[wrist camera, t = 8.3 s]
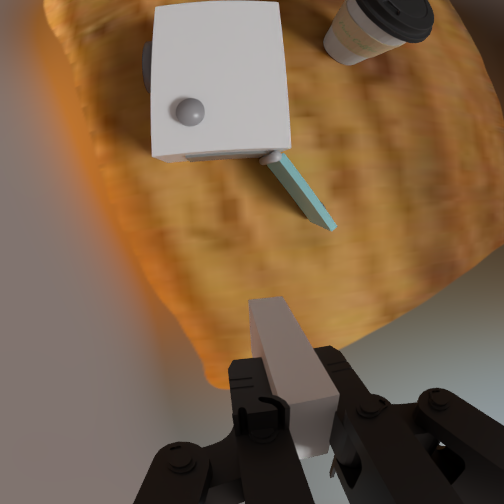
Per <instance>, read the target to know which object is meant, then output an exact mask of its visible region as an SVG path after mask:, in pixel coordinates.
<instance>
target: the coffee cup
mask: <svg viewBox="0 0 504 504" xmlns="http://www.w3.org/2000/svg"><path fill="white" fill-rule="evenodd" d="M433 23H434V14H433V10H432V8H431V6H430V4H429V2H428V0H345V1H344V3H343V4H342V6H341V8H340V9H339V11H338V13H337V14H336V16H335V18H334V20H333V22H332V25H331V27H330V28H329V30H328V32H327V34H326V35H325V37H324V41H323V43H324V47H325V50H326V51H327V53H328V54H329V55H330V56H331V57H332V58H333V59H335V60H336V61H338V62H340V63H342V64H345V65H353V64H356V63H358V62H361V61H363V60H365V59H367V58H371V57H375V56H377V55H379V54H382V53H384V52H386V51H389V50H391V49H394V48H396V47H399V46H401V45H403V44H404V43H405V42H408V43H419V42H422V41H424V40H425V39H426V38H427V37H428V36H429V35H430V33H431V30H432V25H433Z"/></svg>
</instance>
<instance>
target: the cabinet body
mask: <svg viewBox="0 0 504 504" xmlns="http://www.w3.org/2000/svg"><path fill="white" fill-rule="evenodd" d="M142 70H143V78H144V83H145V87H146V90H147V92H148V93H151V143H152V157H154V158H157V159H159V160H162V161H165V162H167V163H171V162H181V161H190V162H196V161H208V160H223V159H240V158H259V157H261V156H265V155H267V154H270V153H272V152H274V151H279V152H282V151H285V150H287V149H290V148H291V135H290V119H289V105H288V91H287V79H286V68H285V57H284V47H283V37H282V28H281V19H280V10H279V2H267V1H205V2H192V3H182V4H173V5H165V6H159V7H155V17H154V28H153V41H148V42H146V43H145V44H144V48H143V54H142Z"/></svg>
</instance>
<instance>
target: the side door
mask: <svg viewBox="0 0 504 504" xmlns="http://www.w3.org/2000/svg"><path fill="white" fill-rule="evenodd" d="M259 163H260V164H261V165H267V166H268V167H269V168H270V170H271V171H272V172H273V173H274V175H275V176H276V177H277V179H278V180H279V181H280V182H281V184H282V185H283V186H284V188H285V189H286V190H287V191H288V193H289V194H290V195H291V197H292V198H293V199H294V201H295V202H296V203H297V205H298V206H299V207H300V209H301V210H302V211H303V213H304V214H305V215H306V217H307V218H308V219H309V221H310V222H312V223H314V224H316V225H319V226H321V227H323V228H325V229H327V230H329V231H333V230H334V229H335V228H336V227H337V225H336V224H335V222H334V221H333V219H332V218H331V216H330V215H329V213H328V212H327V211H326V208H325V206H324V205H323V204H322V203H321V202H320V201H319V199H318V198H317V196H316V195H315V194H314V192H313V191H312V190H311V188H310V187H309V185H308V184H307V183H306V181H305V180H304V179H303V177H302V176H301V175H300V173H299V172H298V171H297V169H296V168H295V167H294V165H293V164H292V163H291V161H290V160H289V159H288V158H287V156H286V155H285V154H284V153H283V154H281V153H280V152H279V151H274V152H272V153H270V154H267V155H265V156H263V157H261V158H260V159H259Z"/></svg>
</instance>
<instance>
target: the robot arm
mask: <svg viewBox="0 0 504 504" xmlns="http://www.w3.org/2000/svg"><path fill="white" fill-rule="evenodd" d="M248 301H249V317H250V333H251V349H252V355H253V358H248V359H239V360H233V361H232V363H231V365H230V367H229V368H228V374H229V384H230V393H231V400H232V410H233V414H232V417H233V423H234V426H233V429H232V431H231V433H230V434H229V435H228V436H227V437H226V438H224V439H223V440H222V441H220V442H217V443H215V444H213V445H209V446H206V447H203V448H201V447H200V446H198V445H196V444H193V443H190V442H175V443H171V444H168V445H166V446H165V447H163V448H161V449H160V450H159V451H158V453H157V454H156V455H155V457H154V459H153V461H152V463H151V465H150V468H149V470H148V472H147V474H146V477H145V479H144V481H143V483H142V485H141V488H140V490H139V492H138V494H137V496H136V499H135V501H134V503H133V504H239V503H242V502H244V501H245V504H315V503H314V500H313V497H312V494H311V491H310V489H309V486H308V483H307V480H306V477H305V474H304V471H303V468H302V465H301V462H300V460H301V459H305V458H310V457H314V456H318V455H323V454H326V453H328V450H329V445H331V447H332V449H333V451H334V454H335V455H334V459H333V462H332V466H331V469H330V478H332V477H334V474H335V471H336V473H337V475H338V478H339V479H340V482H341V485H342V487H343V489H344V491H345V494H346V496H347V498H348V500H349V503H350V504H504V426H503V425H502V424H500V423H499V422H497V421H495V420H494V419H492V418H491V417H489V416H487V415H486V414H484V413H483V412H481V411H480V410H478V409H477V408H475V407H474V406H472V405H471V404H469V403H467V402H466V401H464V400H463V399H461V398H459V397H458V396H457V395H455V394H454V393H452V392H450V391H448V390H445V389H441V388H432V389H428V390H426V391H424V392H423V393H422V394H421V395H420V396H419V398H418V401H417V403H408V404H391V403H390V402H389V401H388V400H387V399H385V398H383V397H382V396H379V395H375V394H370V392H369V391H368V389H367V388H366V387H365V385H364V384H363V382H362V381H361V380H360V378H359V377H358V375H357V374H356V373H355V371H354V370H353V369H352V367H351V366H350V364H349V363H348V362H347V361H346V359H345V357H344V356H343V355H342V353H341V352H340V351H338V350H337V349H335V348H333V347H332V346H324V347H319V348H312V346H311V344H310V343H309V341H308V339H307V337H306V336H305V334H304V332H303V331H302V329H301V327H300V326H299V324H298V322H297V320H296V319H295V317H294V315H293V314H292V312H291V310H290V309H289V307H288V305H287V303H286V302H285V300H284V298H283V297H282V296H281V297H272V298H262V299H252V300H248ZM440 442H442V443H443V444H444V445H446V446H440V445H439V443H440Z"/></svg>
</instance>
